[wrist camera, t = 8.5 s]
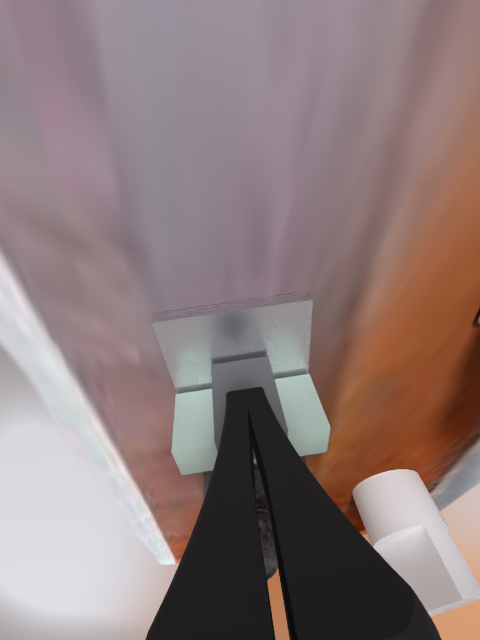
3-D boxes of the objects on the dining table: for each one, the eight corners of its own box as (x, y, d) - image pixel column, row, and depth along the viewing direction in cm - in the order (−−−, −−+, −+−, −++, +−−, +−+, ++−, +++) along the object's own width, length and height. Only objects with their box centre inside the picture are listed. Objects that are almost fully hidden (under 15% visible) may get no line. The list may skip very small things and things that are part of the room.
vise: (308, 291, 19) (342, 353, 15) (299, 457, 32) (316, 517, 28) (153, 313, 19) (139, 383, 14) (208, 472, 32) (210, 535, 28)
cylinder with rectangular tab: (377, 467, 36) (440, 600, 27) (433, 471, 39) (509, 594, 29) (339, 500, 41) (382, 622, 32) (392, 501, 44) (445, 615, 34)
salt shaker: (236, 450, 30) (253, 615, 21) (195, 428, 27) (193, 610, 18) (283, 425, 28) (326, 592, 19) (245, 398, 25) (273, 582, 16)
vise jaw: (311, 349, 21) (342, 421, 16) (307, 398, 24) (332, 469, 20) (167, 371, 20) (158, 450, 16) (184, 417, 24) (181, 493, 19)
